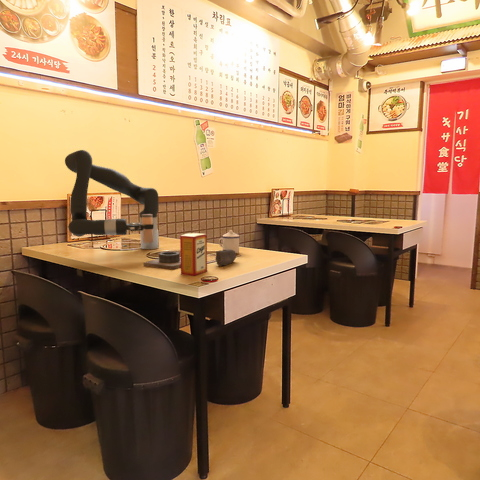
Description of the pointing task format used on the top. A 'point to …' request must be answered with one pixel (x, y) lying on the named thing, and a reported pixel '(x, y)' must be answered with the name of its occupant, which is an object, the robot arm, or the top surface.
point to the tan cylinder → (147, 232)
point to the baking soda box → (193, 253)
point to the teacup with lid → (230, 241)
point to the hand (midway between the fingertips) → (153, 225)
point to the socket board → (163, 265)
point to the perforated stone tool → (225, 257)
